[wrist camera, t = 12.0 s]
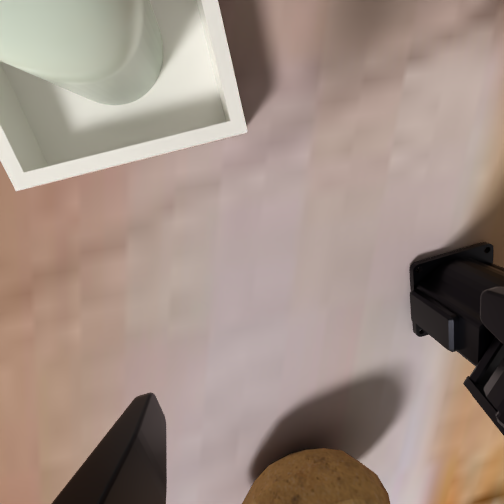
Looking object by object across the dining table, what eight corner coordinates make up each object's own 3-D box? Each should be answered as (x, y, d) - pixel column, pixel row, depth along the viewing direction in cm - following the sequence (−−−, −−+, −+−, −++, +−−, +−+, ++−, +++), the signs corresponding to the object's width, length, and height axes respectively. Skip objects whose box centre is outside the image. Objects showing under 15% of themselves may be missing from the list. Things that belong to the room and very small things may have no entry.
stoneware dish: (180, -120, 14) (174, -192, 11) (240, 134, 18) (247, 132, 15) (-72, -71, 13) (-150, -134, 10) (48, 183, 17) (15, 190, 14)
